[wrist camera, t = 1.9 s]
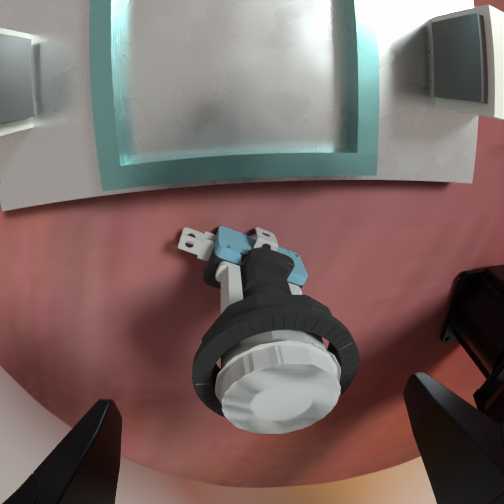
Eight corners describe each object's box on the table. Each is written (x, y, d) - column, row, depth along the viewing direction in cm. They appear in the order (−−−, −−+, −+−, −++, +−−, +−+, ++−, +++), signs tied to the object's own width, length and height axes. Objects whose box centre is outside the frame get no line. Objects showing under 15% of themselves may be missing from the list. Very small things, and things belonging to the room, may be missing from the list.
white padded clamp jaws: (477, 115, 13) (534, 128, 9) (-10, 141, 12) (-66, 161, 8) (475, 32, 11) (531, 29, 7) (-15, 54, 10) (-71, 54, 6)
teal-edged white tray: (457, 176, 17) (484, 189, 14) (15, 202, 15) (-10, 219, 13) (454, -20, 11) (480, -29, 8) (3, -2, 9) (-23, -9, 7)
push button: (168, 269, 18) (131, 420, 9) (201, 181, 16) (172, 294, 7) (276, 304, 19) (311, 451, 10) (318, 227, 17) (401, 357, 8)
